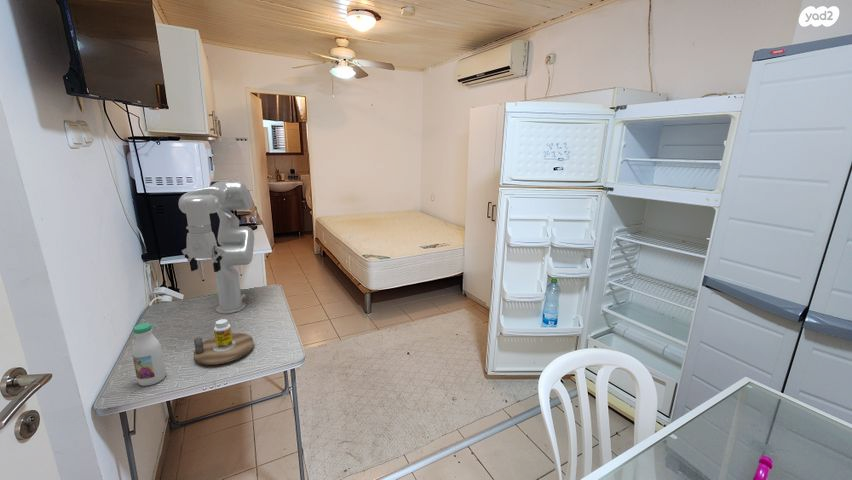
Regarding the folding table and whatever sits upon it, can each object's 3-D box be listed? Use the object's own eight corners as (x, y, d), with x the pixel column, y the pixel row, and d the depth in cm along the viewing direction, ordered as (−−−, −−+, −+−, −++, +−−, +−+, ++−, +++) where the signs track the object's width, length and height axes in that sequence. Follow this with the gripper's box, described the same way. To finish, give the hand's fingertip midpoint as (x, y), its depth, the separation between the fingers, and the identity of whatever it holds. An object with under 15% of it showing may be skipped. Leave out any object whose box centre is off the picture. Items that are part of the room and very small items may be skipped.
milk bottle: (157, 370, 124) (147, 318, 119) (171, 375, 122) (162, 322, 117) (132, 383, 117) (121, 328, 113) (147, 389, 115) (136, 333, 110)
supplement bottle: (216, 351, 132) (213, 326, 129) (215, 344, 136) (212, 320, 134) (233, 346, 135) (230, 322, 132) (232, 340, 139) (229, 316, 137)
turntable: (193, 345, 138) (190, 329, 137) (249, 331, 149) (247, 316, 147) (195, 371, 122) (192, 353, 121) (257, 353, 133) (255, 337, 131)
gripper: (171, 230, 135) (178, 272, 139) (215, 232, 134) (220, 274, 138) (186, 226, 143) (192, 266, 147) (227, 228, 141) (232, 268, 146)
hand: (206, 270), depth 143 cm, fingers open, 9 cm apart
